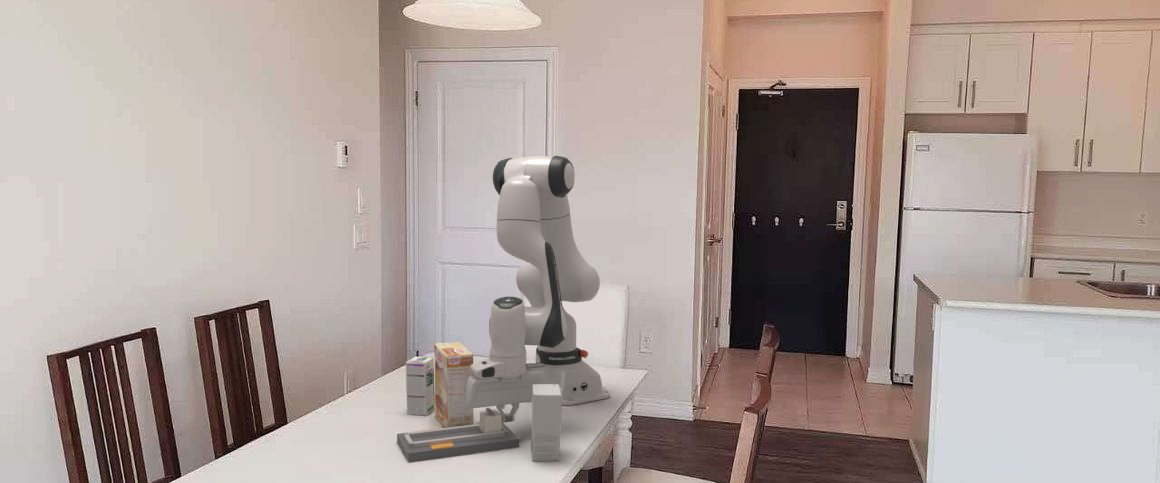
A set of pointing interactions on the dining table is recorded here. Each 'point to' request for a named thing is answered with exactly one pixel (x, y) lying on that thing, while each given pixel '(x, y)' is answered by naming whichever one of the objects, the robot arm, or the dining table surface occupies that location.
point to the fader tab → (490, 421)
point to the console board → (454, 442)
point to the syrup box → (420, 386)
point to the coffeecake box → (452, 384)
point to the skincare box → (546, 422)
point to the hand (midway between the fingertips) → (507, 421)
